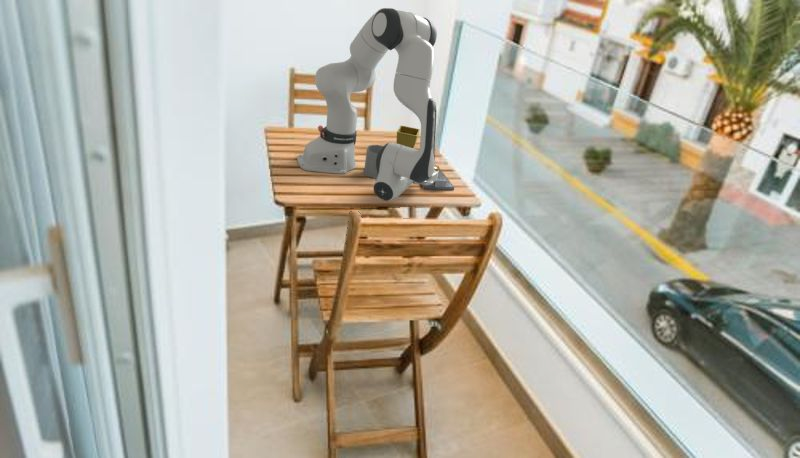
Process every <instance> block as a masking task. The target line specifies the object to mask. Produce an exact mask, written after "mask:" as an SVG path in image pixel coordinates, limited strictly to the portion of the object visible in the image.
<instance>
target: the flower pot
mask: <svg viewBox="0 0 800 458" xmlns="http://www.w3.org/2000/svg"><path fill="white" fill-rule="evenodd" d="M398 127H399V128H397V129H398V130H397V131H396V144H400V145H404V146H406V147H410V148H414V149H415V146H416V144H417V141H418V137H419V134H420V132H421V128H420V129H419V128H417V127H416V128H415V127H411V126H407V125H400V126H398Z"/></svg>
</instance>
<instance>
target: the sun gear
mask: <svg viewBox="0 0 800 458" xmlns="http://www.w3.org/2000/svg"><path fill="white" fill-rule="evenodd" d="M439 168H440V166H439V165H437V164H435V167H434V170H435V171H437V173H438V172H439Z"/></svg>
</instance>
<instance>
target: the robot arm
mask: <svg viewBox="0 0 800 458" xmlns="http://www.w3.org/2000/svg"><path fill="white" fill-rule="evenodd" d="M437 37H438V31H437V27H436V24H435V23H434V22H433V21H431V20H430V19H429V18H427V17H422V16H420V15H418V14H415V13H412V12H411V11H410V12H409V11H404V10H397V9H395V8H391V7H389V8H387V7H382V8H380V9H378V10H377V11H376V12H374V13H373V14H372V16H371V17H369V19H368V20H367V21H366V22H365V23H364V25H362V27H361V29H360V30H359V31H358V33H357V34H356V36H355V37H354V38H353V40H352V41H351V43H350V45H349V53H350V57H349V58H348V59H346V60H344V61H340V62H339V61H338V62H333V63H328V64H326V65H323V66H321V67H320V68H318V69H317V71H316V72H315V76H314V83H315V87H316V88H317V90H318V92H319V93H320V94H321V95H322V96H323V97H324V99H325V103H326V109H327V110H326V126H324V127H323V126H322V125H321V124H320V125H318V126H317V130H318V132H319V134H320V135H319V136H318V137H316V138H315V139H313V140H311V141H309V142H308V143H306V145H305V148H304V150H303V152H302V153H299V154H298V155H297V158H296V160H297V165H298V166H299V168H300V169H302V170H304V171H306V172H307V171H308V172H316V173H317V172H319V173H327V174H328V173H329V174H340V175H344V174H347V172H349V171H351V170H352V171H353V169H355V168H356V167H357V163H356V159H355V158H356V156H355V145H356V142H357V137H358V136H357V135H358V134H357V120H358V109H357V108H356V107H355V106H354V105H353V104H352V102H351V94H354V93H360V92H364V91H366V90H367V89H369V88H371V87H372V86H373V85H374V84H375V81H376V79H377V76H376V67H377V66H378V64H379V62H380V61H381V60H382V59H383V58H384V56H385V55H386V53H387V52H388V51H392V50H395V51H396V52H397V54H398V55H397V56H398V60H397V65H396V70H395V73H394V74H395V75H394V78H393V92H394V95H395V97H396V99H397V100H398V101H399V102H400V103H401V104H402V105H403V106H404V107H406V108H407V109H408V110H410V111H411V113H413V114H415V116H416V117H417V118H418V120H419V123H420V137H419V138H420V139H419V140H420V141H419V149H416V148H415V147H414V148H410V147H406V146H404V145H400V144H397V142H396V143H395V142H392V141H390V142H387V143H385V144H384V145H382V146H383V147H382V148H381V149H380V151H379V152H378V155H377V159H376V169H377V173H378V177H377V178H375V181H374V183H373V186H372V187H373V192H374V195H375V196H376V197H377V198H379V199H380V200H382V201H386V202H387V201H393V200H395V199H396V198H398V197H399V196H401V194H403V193H404V192H405V191H406V190H407V189H408V188H409V187H410V186H411V185H413V182H417V184H420V185H421V184H422V185H430V184H432V183H434V182H435V181H436V179H437V175H438V173H437V171H435V170H434V167H435V165H436V163H435V162H436V161H435V158H436V157H435V155H436V153H435V144H436V129H437V103H436V101H435V99H434V98H433V96H432V95H431V80H432V75H433V70H434V60H435V50H434V46H435V45H436V44H435V43H436V42H437ZM422 185H421V186H422Z"/></svg>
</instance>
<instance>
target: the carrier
mask: <svg viewBox="0 0 800 458" xmlns="http://www.w3.org/2000/svg"><path fill="white" fill-rule="evenodd" d="M420 185H421V187H422V188H423V190H424V191H425V190H427V191H428V190H429V191H431V190H432V191H436V190H437V191H454V190H455V185H454V184H453V183H452V182H451V181H450V180H449V178H448V177H447V176H446V175H445V173H444V172H443V171H442V170H441V168H440V167H439V172H438V175H437V179H436V181H435V182H434V183H432V184H430V185H422V184H420Z"/></svg>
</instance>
